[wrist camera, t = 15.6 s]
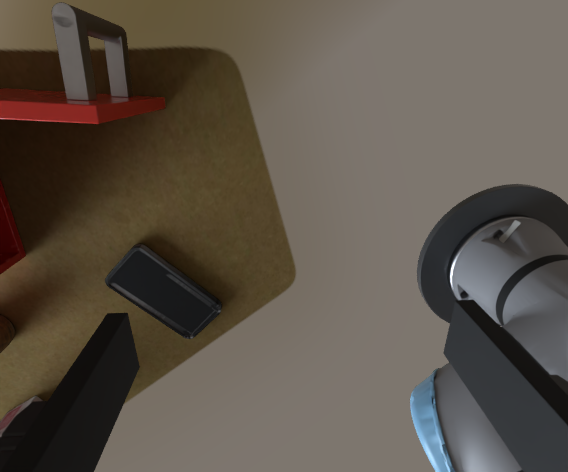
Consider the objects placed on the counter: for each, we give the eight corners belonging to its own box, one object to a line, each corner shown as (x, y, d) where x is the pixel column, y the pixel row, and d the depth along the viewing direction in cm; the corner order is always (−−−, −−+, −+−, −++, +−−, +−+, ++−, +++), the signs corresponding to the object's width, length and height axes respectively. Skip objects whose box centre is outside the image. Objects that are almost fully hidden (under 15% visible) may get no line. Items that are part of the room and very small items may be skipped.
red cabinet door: (-41, 19, 35) (-300, -38, 19) (160, 33, 37) (79, -9, 20) (-20, 98, 38) (-228, 107, 22) (165, 108, 40) (98, 124, 23)
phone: (189, 341, 52) (101, 282, 47) (191, 336, 53) (104, 278, 48) (224, 308, 50) (136, 243, 45) (225, 304, 51) (139, 240, 46)
